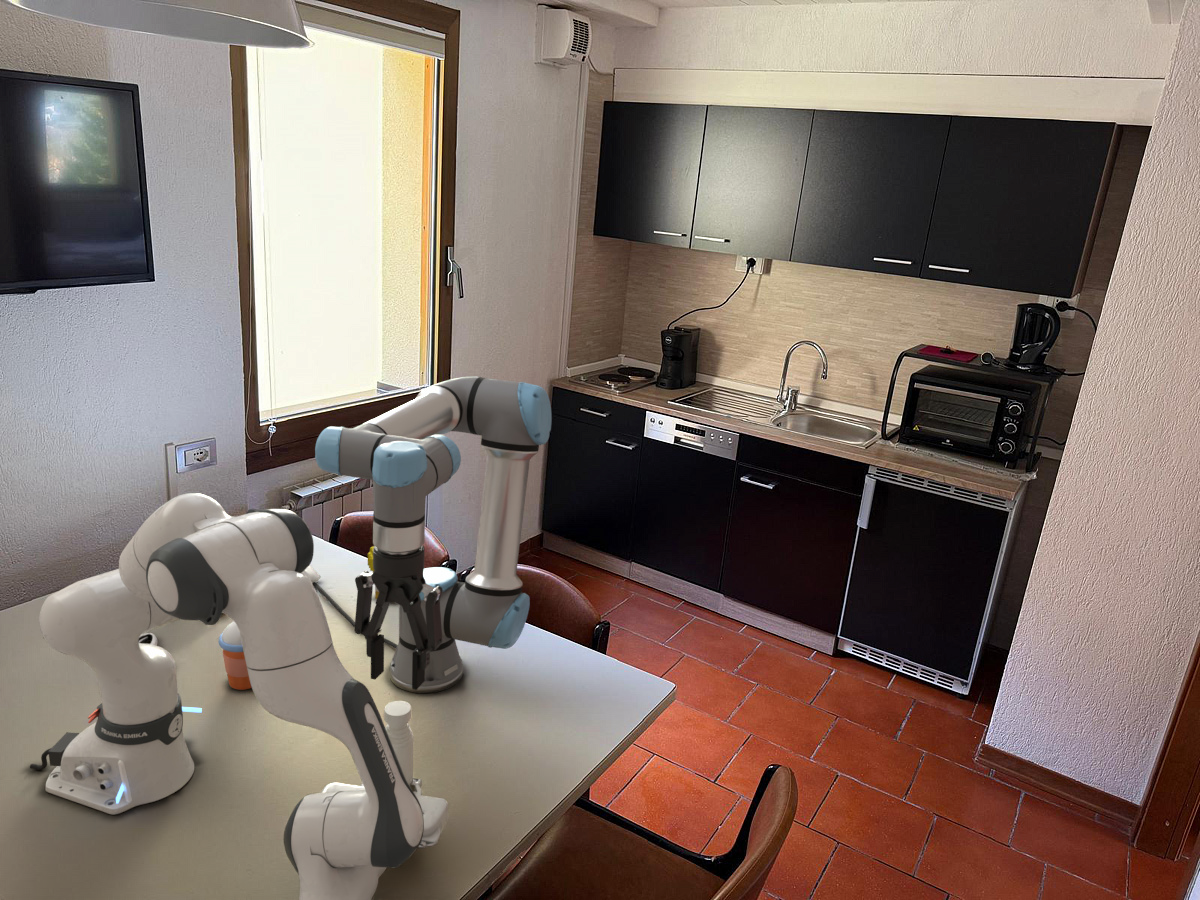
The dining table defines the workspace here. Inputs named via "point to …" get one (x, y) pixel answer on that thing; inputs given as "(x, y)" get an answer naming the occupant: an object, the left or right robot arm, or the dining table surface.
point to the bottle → (403, 747)
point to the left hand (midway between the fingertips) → (398, 779)
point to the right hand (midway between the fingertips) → (397, 679)
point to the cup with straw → (234, 657)
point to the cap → (397, 713)
